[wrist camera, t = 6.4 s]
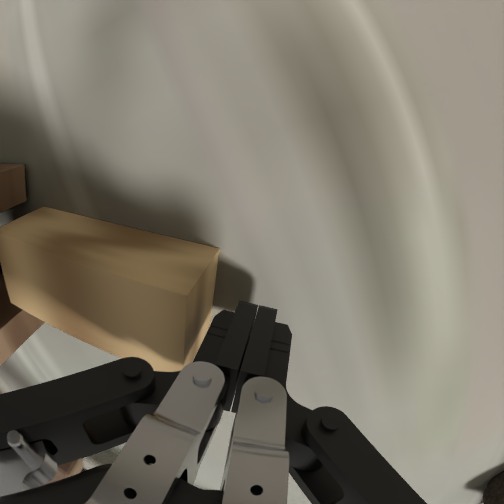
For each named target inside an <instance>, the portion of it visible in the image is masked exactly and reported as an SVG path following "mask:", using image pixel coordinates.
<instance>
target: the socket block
mask: <svg viewBox="0 0 504 504" xmlns="http://www.w3.org/2000/svg"><path fill="white" fill-rule="evenodd" d="M25 201H27V200H26V186H25V165H21V164H6V163H0V213H1V212H3V211H5V210H7V209H9V208H12V207H14V206H16V205H18V204H21V203H23V202H25ZM43 323H45V322H44V321H42V320H40V319H38V318H37V317H35V316H33V315H31V314H29V313H28V312H26V311H24V310H22V309H21V308H19V307H17V306H16V305H14V304H12V303H11V302H10V298H9V295H8V291H7V287H6V284H5V280H4V276H3V275H2V274H1V273H0V366H1V365H2V364H3V363H4V362H5V361H6V360H7V359H8V358H9V357H10V356H11V355H12V354H13V353H14V352H15V351H16V350H17V349H18V348H19V347H20V346H21V345H22V344H23V343H24V342H25V341H26V340H27V339H28V338H29V337H30V336H31V335H32V334H33V333H34V332H35V331H36V330H37V329H38V328H39V327H40V326H41V325H42V324H43Z"/></svg>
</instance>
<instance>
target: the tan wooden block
mask: <svg viewBox="0 0 504 504" xmlns="http://www.w3.org/2000/svg"><path fill="white" fill-rule="evenodd" d="M219 250H220V249H219V248H215V247H211V246H207V245H202V244H198V243H194V242H190V241H186V240H181V239H177V238H173V237H169V236H164V235H160V234H156V233H152V232H148V231H144V230H139V229H135V228H131V227H127V226H123V225H118V224H114V223H110V222H106V221H102V220H98V219H93V218H89V217H85V216H81V215H77V214H73V213H69V212H64V211H60V210H56V209H52V208H48V207H44V206H43V207H41V208H39V209H37V210H35V211H32V212H30V213H28V214H26V215H24V216H22V217H20V218H18V219H16V220H14V221H12V222H10V223H8V224H6V225H4V226H2V227H0V263H1V267H2V271H3V276H4V280H5V284H6V287H7V291H8V295H9V298H10V302H11V303H12V304H14V305H16V306H17V307H19V308H21V309H22V310H24V311H26V312H28V313H29V314H31V315H33V316H35V317H37V318H38V319H40V320H42V321H44V322H46V323H48V324H50V325H52V326H53V327H55V328H57V329H59V330H61V331H63V332H65V333H67V334H69V335H71V336H73V337H76V338H78V339H80V340H82V341H84V342H86V343H88V344H91V345H93V346H95V347H97V348H100V349H102V350H104V351H106V352H109V353H111V354H113V355H116V356H118V357H121V358H126V357H138V358H141V359H144V360H146V361H147V362H148V363H150V365H151V366H152V368H153V370H155V371H162V372H176V371H180V370H182V369H183V367H185V366H186V365H188V364H190V363H192V361H193V359H194V357H195V355H196V353H197V351H198V349H199V347H200V345H201V343H202V341H203V339H204V337H205V335H206V333H207V330H208V328H209V326H210V321H211V313H212V304H213V296H214V288H215V280H216V273H217V265H218V257H219Z"/></svg>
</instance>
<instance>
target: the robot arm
mask: <svg viewBox="0 0 504 504" xmlns="http://www.w3.org/2000/svg"><path fill="white" fill-rule="evenodd" d="M257 307H258V305H256V304H252V303H247V302H243V301H239V304H238V306H237V309H236V311H235V313H234V312H230V311H226V310H223V311H221V312H220V313H218V314H217V315H216V316H215V317H214V319H213V321H212V323H211V325H210V327H209V329H208V331H207V334H206V335H205V337H204V340H203V342H202V344H201V346H200V348H199V350H198V352H197V354H196V356H195V358H194V360H193V362H192V363H190V364H188V365H186V366H185V367H183V369H182V370H180V371H176V372H162V371H154V370H153V368H152V366H151V365H150V363H148V362H147V361H146V360H144V359H141V358H138V357H126V358H122V359H119V360H116V361H113V362H110V363H107V364H104V365H101V366H98V367H95V368H91V369H88V370H85V371H82V372H79V373H75V374H72V375H69V376H65V377H62V378H59V379H55V380H52V381H48V382H45V383H41V384H38V385H34V386H30V387H27V388H23V389H19V390H15V391H12V392H8V393H4V394H0V504H287V494H288V476H289V473H290V475H291V476H292V477H293V479H294V480H295V482H296V483H297V484H298V486H299V487H300V488H301V490H302V491H303V493H304V494H305V495H306V497H307V498H308V499H309V501H310V502H311V503H312V504H427V503H426V502H425V501H424V500H423V499H422V498H421V497H420V496H419V495H418V494H417V493H416V492H415V491H414V490H413V489H412V488H411V487H410V486H409V484H408V483H407V482H406V481H405V480H404V479H403V478H402V477H401V476H400V475H399V474H398V473H397V472H396V470H395V469H394V468H393V467H392V466H391V465H390V464H389V463H388V462H387V461H386V460H385V458H384V457H383V456H382V455H381V454H380V453H379V452H378V451H377V450H376V449H375V447H374V446H373V445H372V444H371V443H370V442H369V441H368V440H367V439H366V437H365V436H364V435H363V434H362V433H361V432H360V431H359V430H358V428H357V427H356V426H355V425H354V424H353V423H352V422H351V420H350V419H349V418H348V417H347V416H346V415H345V414H344V413H343V412H342V411H340V410H338V409H336V408H333V407H327V406H326V407H319V408H316V409H314V410H313V411H312V410H310V409H308V408H306V407H304V406H302V405H300V404H298V403H297V402H295V401H294V400H293V399H292V398H291V397H290V396H289V394H288V392H287V390H286V378H287V371H288V363H289V355H290V347H291V346H290V345H291V339H292V334H291V331H290V329H289V327H288V325H286V324H281V323H277V322H275V319H276V314H277V309H273V308H269V307H265V306H260V305H259V308H258V311H257ZM256 312H257V315H256ZM255 317H256V318H255ZM254 321H255V322H254ZM235 391H236V393H235ZM234 395H235V397H234ZM233 398H234V402H233V406H232V411H231V412H234V413H236V415H235V419H234V423H233V427H232V431H231V437H230V442H229V447H228V453H227V458H226V463H225V468H224V474H223V478H222V483H221V487H220V490H203V489H199V488H197V487H195V486H193V484H194V482H195V479H196V476H197V472H198V469H199V467H200V464H201V462H202V460H203V458H204V456H205V453H206V451H207V449H208V447H209V444H210V442H211V440H212V437H213V435H214V433H215V431H216V428H217V425H218V423H219V421H220V419H221V416H222V413H223V410H226V411H230V408H231V405H232V401H233ZM125 442H126V444H125V445H124V447H123V448H122V450H121V451H120V453H119V455H118V456H117V458H116V459H115V461H114V462H113V464H106V465H101V466H97V467H94V468H92V469H89V470H86V471H84V472H81V473H78V474H76V475H73V476H70V477H67V478H64V479H61V480H58V481H55V482H52V483H49V484H46V485H43V484H45V483H47V482H49V481H52V480H53V479H54V478H55V475H56V473H57V466H59V465H62V464H65V463H69V462H72V461H75V460H78V459H81V458H84V457H87V456H90V455H93V454H96V453H99V452H101V451H104V450H107V449H110V448H112V447H115V446H118V445H120V444H123V443H125Z"/></svg>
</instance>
